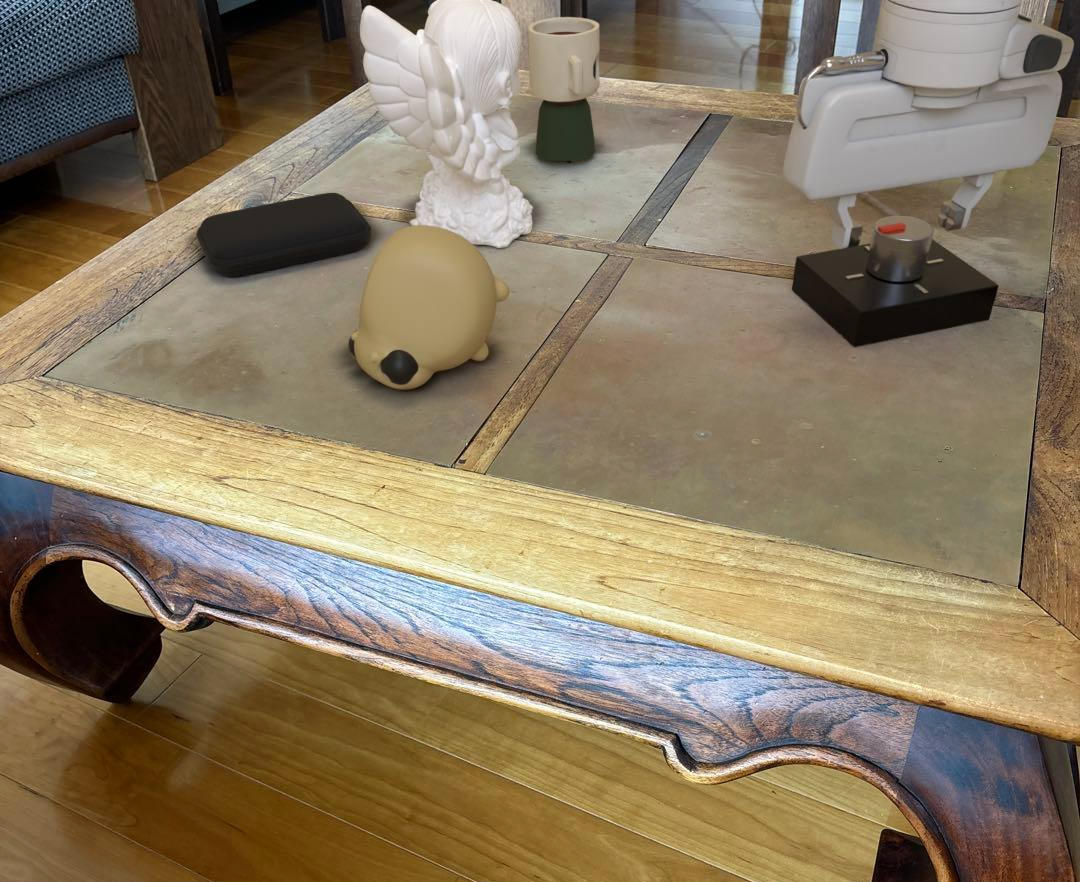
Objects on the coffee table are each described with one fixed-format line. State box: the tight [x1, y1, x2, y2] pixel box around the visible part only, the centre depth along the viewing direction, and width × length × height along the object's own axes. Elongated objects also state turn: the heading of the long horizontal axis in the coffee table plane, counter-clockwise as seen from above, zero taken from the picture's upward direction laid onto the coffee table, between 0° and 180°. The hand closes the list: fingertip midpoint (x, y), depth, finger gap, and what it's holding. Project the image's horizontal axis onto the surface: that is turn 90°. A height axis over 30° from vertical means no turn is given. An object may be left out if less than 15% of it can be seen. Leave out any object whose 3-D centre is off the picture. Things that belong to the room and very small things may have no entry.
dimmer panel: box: [791, 238, 1000, 348], centre depth 82 cm, size 12×10×3 cm
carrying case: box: [195, 192, 373, 278], centre depth 93 cm, size 11×3×15 cm
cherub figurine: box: [359, 0, 534, 249], centre depth 89 cm, size 13×12×20 cm
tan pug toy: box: [348, 225, 510, 390], centre depth 75 cm, size 10×12×11 cm
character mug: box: [527, 16, 601, 164], centre depth 105 cm, size 11×7×13 cm, turn 14°
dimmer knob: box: [866, 215, 935, 282], centre depth 80 cm, size 4×4×4 cm
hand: (898, 236), depth 79 cm, fingers open, 8 cm apart
